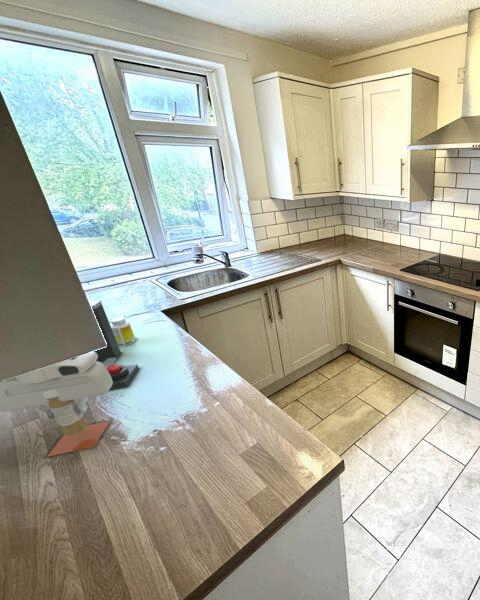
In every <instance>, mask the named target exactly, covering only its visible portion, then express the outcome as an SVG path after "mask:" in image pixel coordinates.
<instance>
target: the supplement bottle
mask: <svg viewBox="0 0 480 600" xmlns="http://www.w3.org/2000/svg"><path fill="white" fill-rule="evenodd" d="M110 322H111V324H110V326H111V329H112V331H113V334H114V336H115V339H116V341H117V344H118V346H119V347H124V346H128V345H131V344H133V343H135V342H136V337H135V334H134V332H133V331H134V330H133V329H132V325H131V324H130V322H129V321H128V320H126V318H125V317H124V316H118V317H115V318H112V319H111V320H110Z"/></svg>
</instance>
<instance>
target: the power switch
mask: <svg viewBox="0 0 480 600" xmlns="http://www.w3.org/2000/svg"><path fill="white" fill-rule="evenodd" d="M119 365H120V367H121V371H120V372H118V373H115V374H111V375H110V376H111V378H112V381H113V384H112V386H111V388H110V389H109V390H108V391H113V390H118V389H124V388H128V387H129V385H130V384H131V383H132V381H133V379H134V378H135V376H136V374H137V373H138V371H139V370H140V367H139V364H138V363H135V364H130V365H129V364H128V365H124V364H119Z"/></svg>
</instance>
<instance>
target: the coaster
mask: <svg viewBox="0 0 480 600" xmlns="http://www.w3.org/2000/svg"><path fill="white" fill-rule="evenodd" d="M110 423H111V420H109V421H104V422H97V423H92V424H88V426H87V427H86V429H85V430H83V431H82V432H80V433H78V434H75V435H71V436H66V435H64V434H63V435H62V436H61V438H60V439H58V441H57V443H56V444H55V446H54V447H53V448H52V449H51V451H50V452H49V453H48V455H47V456H46V457H47V458H49V457H53V456H59V455H63V454H67V453H72V452H78V451H82V450H86V449H87V450H88V449H92V448H95V446H96V445H97V443H98V442H99V440H100V438H101V437H102V436H103V434H104V432H105V431H106V429H107V427H108V426H109V425H110Z"/></svg>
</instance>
